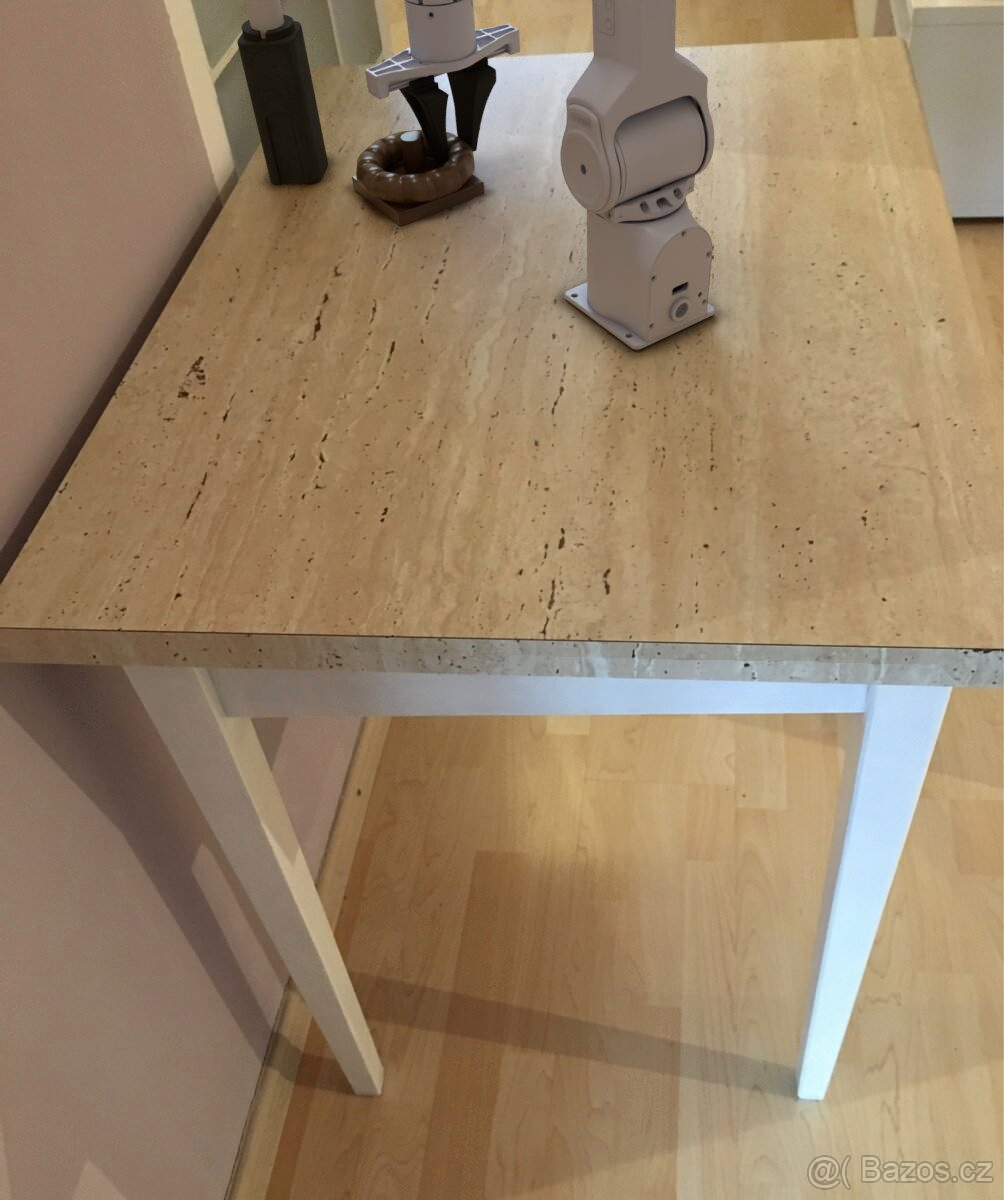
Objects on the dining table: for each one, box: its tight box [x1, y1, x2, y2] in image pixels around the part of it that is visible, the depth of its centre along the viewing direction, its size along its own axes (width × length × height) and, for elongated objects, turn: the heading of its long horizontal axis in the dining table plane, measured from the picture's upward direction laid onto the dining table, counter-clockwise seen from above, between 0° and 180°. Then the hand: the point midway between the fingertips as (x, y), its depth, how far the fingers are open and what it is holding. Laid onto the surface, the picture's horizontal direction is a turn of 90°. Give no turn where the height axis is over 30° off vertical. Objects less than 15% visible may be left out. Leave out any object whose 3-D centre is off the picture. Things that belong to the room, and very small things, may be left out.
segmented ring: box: [355, 129, 476, 204], centre depth 96 cm, size 11×11×2 cm
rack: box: [351, 130, 485, 227], centre depth 96 cm, size 9×9×5 cm
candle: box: [236, 0, 329, 185], centre depth 93 cm, size 5×5×25 cm
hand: (454, 153), depth 98 cm, fingers closed on segmented ring, 2 cm apart
